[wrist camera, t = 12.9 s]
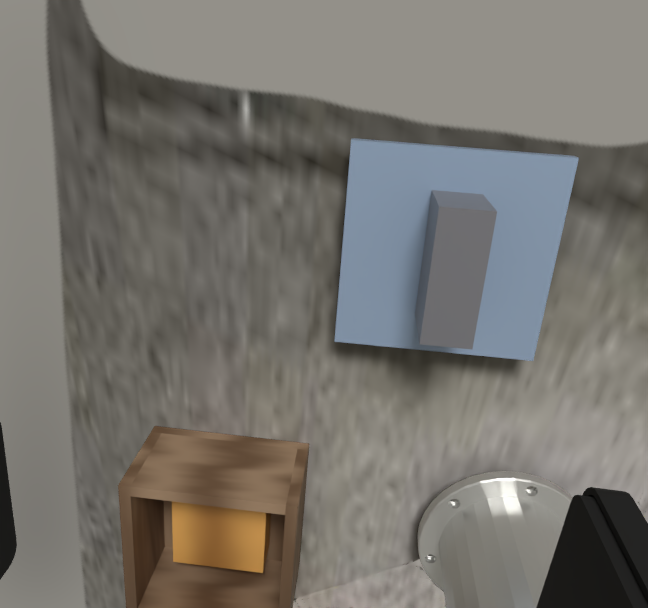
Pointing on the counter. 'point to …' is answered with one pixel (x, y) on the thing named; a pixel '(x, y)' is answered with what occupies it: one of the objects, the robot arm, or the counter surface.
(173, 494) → the box
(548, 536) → the robot arm
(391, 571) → the counter surface
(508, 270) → the lid
